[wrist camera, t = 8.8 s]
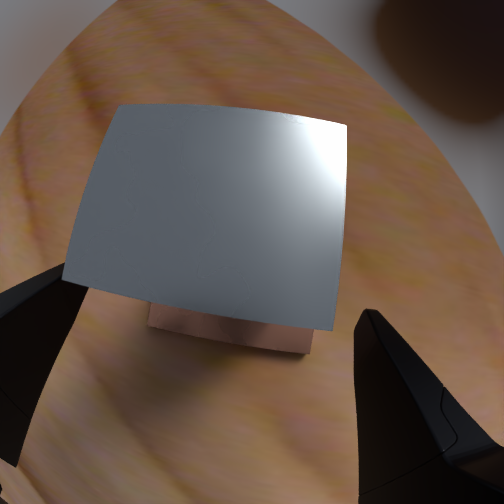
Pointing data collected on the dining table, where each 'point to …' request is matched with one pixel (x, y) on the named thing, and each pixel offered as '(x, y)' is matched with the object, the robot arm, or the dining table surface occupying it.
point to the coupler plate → (230, 329)
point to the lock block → (216, 213)
